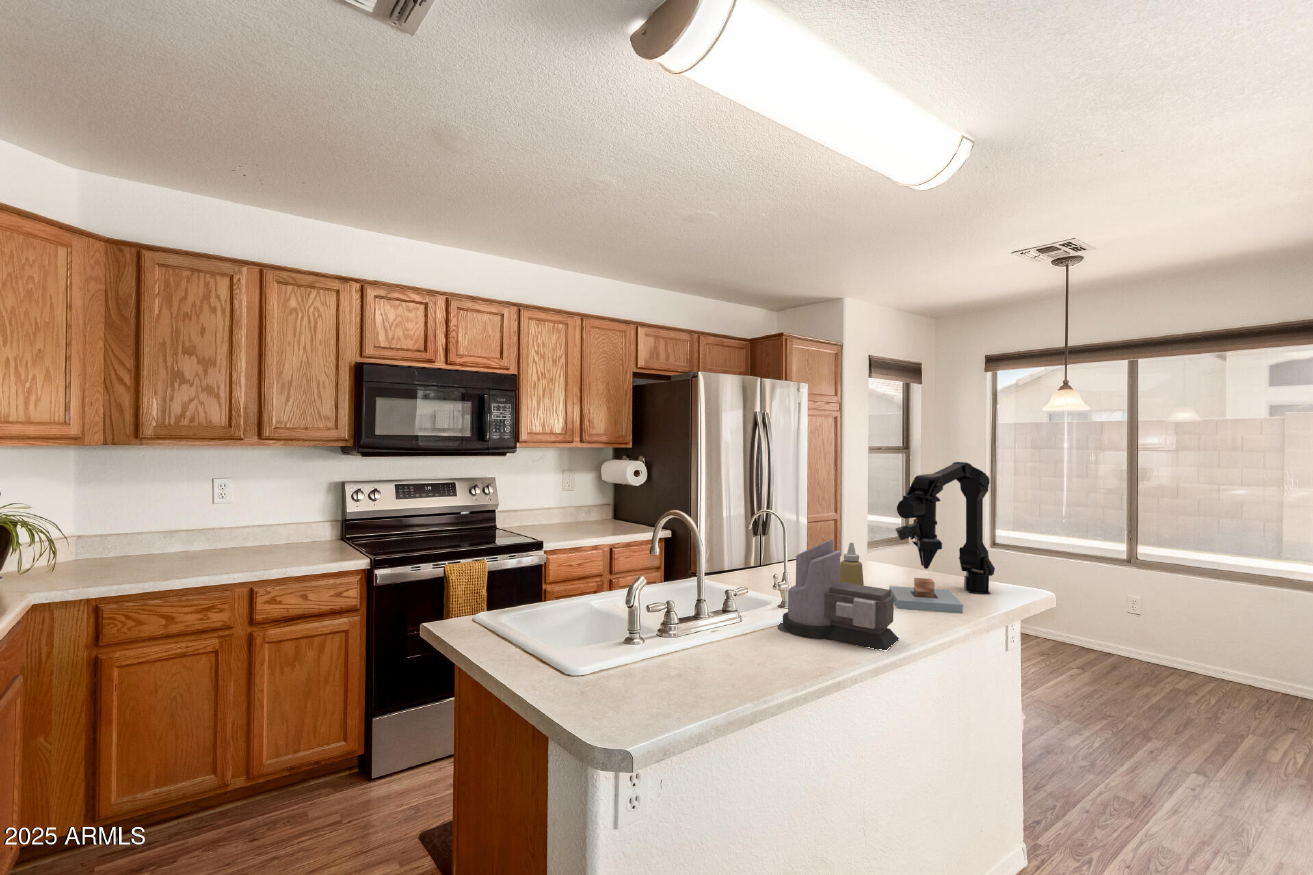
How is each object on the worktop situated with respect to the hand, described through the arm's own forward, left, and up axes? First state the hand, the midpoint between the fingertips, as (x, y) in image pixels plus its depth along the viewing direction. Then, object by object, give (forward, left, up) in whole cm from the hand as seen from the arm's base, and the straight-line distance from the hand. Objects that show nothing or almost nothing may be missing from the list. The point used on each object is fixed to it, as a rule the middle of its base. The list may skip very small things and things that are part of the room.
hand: (924, 567), depth 197 cm
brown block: (0, 0, -10) cm, 10 cm away
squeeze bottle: (+22, +4, -11) cm, 25 cm away
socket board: (0, 0, -11) cm, 11 cm away
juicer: (+28, +38, -11) cm, 49 cm away
